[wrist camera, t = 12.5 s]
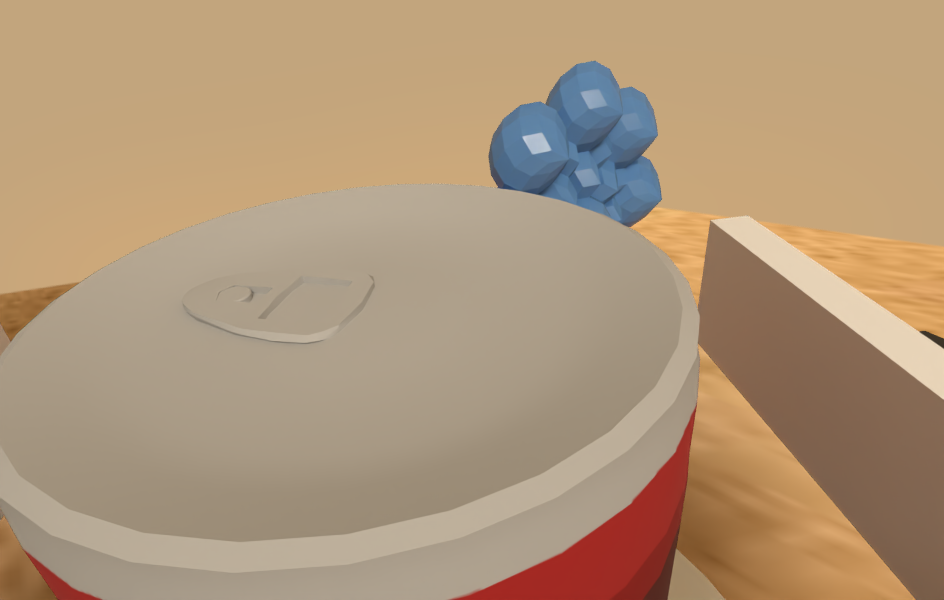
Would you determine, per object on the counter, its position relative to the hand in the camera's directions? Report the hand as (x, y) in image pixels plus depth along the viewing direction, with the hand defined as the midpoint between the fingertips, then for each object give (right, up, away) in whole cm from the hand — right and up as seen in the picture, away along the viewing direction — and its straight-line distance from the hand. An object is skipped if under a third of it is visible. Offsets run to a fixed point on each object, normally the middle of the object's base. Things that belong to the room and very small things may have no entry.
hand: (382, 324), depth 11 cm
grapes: (+5, -2, +15) cm, 16 cm away
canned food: (+1, -9, +1) cm, 9 cm away
